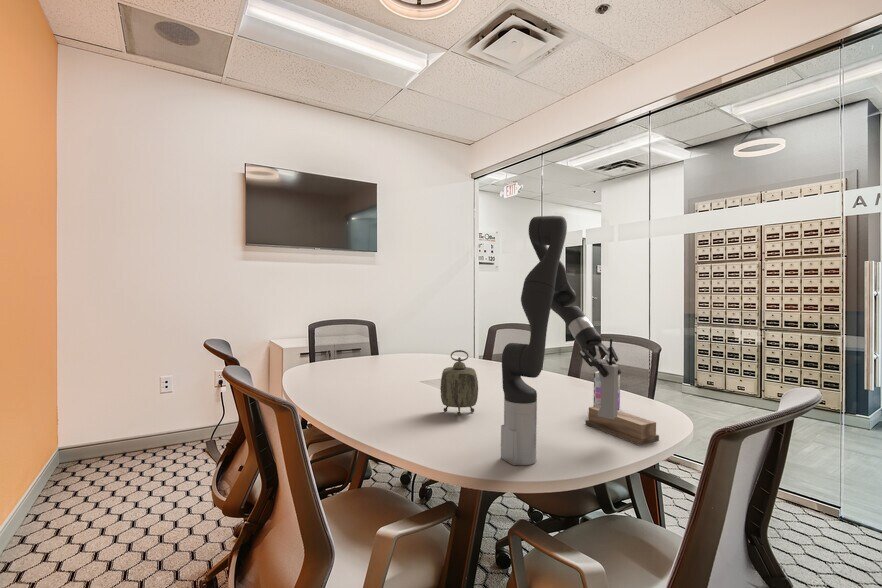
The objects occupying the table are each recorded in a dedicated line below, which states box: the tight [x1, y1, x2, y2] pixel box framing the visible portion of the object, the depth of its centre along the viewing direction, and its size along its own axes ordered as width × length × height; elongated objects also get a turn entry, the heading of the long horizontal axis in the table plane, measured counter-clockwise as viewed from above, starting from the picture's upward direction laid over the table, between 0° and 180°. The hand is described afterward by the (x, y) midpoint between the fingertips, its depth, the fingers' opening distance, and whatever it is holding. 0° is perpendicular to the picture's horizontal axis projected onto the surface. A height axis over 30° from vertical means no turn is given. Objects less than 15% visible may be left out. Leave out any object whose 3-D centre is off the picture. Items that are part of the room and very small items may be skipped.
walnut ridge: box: [585, 405, 660, 446], centre depth 144 cm, size 10×22×6 cm, turn 27°
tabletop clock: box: [439, 349, 479, 417], centre depth 162 cm, size 14×9×25 cm, turn 88°
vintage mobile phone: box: [598, 338, 620, 419], centre depth 132 cm, size 4×5×25 cm
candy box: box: [592, 370, 621, 410], centre depth 169 cm, size 14×6×16 cm, turn 137°
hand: (612, 375), depth 131 cm, fingers closed on vintage mobile phone, 4 cm apart
